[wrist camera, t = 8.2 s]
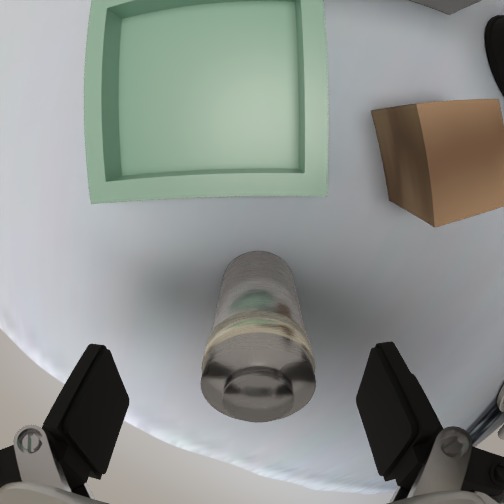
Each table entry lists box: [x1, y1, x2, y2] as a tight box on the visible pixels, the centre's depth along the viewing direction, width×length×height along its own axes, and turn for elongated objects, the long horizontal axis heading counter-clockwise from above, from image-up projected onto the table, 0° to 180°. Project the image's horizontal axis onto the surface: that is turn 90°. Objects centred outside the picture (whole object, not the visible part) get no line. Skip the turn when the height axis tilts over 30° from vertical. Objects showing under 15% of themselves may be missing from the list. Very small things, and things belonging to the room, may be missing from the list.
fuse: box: [201, 251, 316, 422], centre depth 13 cm, size 4×4×9 cm
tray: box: [84, 0, 328, 204], centre depth 12 cm, size 11×11×2 cm
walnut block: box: [371, 99, 504, 227], centre depth 12 cm, size 5×5×5 cm
